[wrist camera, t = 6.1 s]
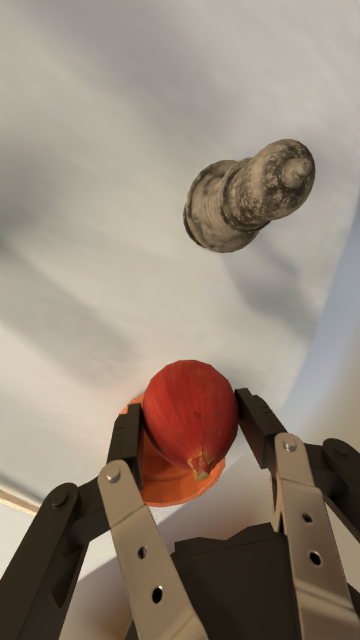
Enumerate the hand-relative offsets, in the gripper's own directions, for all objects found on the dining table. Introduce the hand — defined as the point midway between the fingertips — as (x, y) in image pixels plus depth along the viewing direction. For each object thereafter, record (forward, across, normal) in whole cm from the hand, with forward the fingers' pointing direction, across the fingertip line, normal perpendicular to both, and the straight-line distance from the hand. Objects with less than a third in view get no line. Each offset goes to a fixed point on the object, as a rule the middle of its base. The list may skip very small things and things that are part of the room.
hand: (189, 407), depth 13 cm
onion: (+4, 0, 0) cm, 4 cm away
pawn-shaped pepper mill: (+9, -4, -12) cm, 16 cm away
